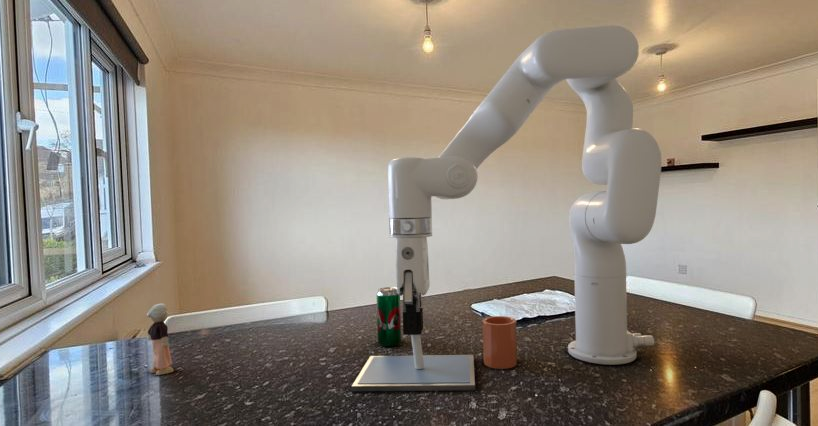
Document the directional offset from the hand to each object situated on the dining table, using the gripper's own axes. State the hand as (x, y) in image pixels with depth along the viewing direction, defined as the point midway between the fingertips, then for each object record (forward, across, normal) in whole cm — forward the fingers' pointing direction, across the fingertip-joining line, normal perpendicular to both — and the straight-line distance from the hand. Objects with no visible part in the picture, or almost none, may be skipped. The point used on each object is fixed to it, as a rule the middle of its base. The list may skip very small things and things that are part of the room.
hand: (413, 331), depth 76 cm
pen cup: (+8, +5, -16) cm, 18 cm away
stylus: (+6, 0, -1) cm, 7 cm away
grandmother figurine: (+8, +3, +48) cm, 49 cm away
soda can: (+8, +17, +7) cm, 20 cm away
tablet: (+8, 0, -1) cm, 8 cm away
